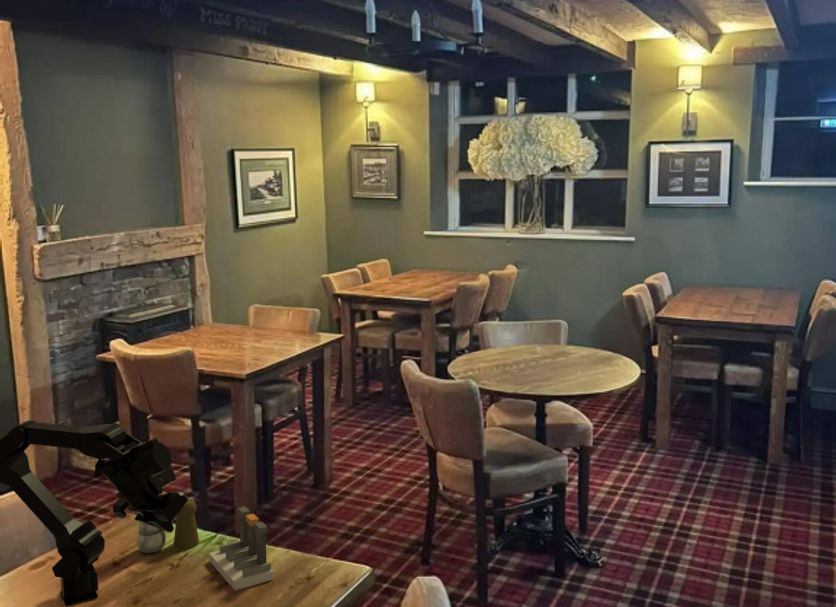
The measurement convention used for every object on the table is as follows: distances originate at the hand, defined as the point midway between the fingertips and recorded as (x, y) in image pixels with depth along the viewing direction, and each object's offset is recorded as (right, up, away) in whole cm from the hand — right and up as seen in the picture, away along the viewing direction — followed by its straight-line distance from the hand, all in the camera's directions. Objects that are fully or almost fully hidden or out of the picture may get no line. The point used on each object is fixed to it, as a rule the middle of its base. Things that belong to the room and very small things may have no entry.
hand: (171, 530), depth 172 cm
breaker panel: (+13, -12, +9) cm, 20 cm away
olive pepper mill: (-3, -10, +23) cm, 25 cm away
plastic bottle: (-11, -10, +19) cm, 24 cm away
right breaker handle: (+18, -10, +7) cm, 22 cm away
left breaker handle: (+13, -8, +15) cm, 21 cm away
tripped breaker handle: (+15, -9, +11) cm, 21 cm away
